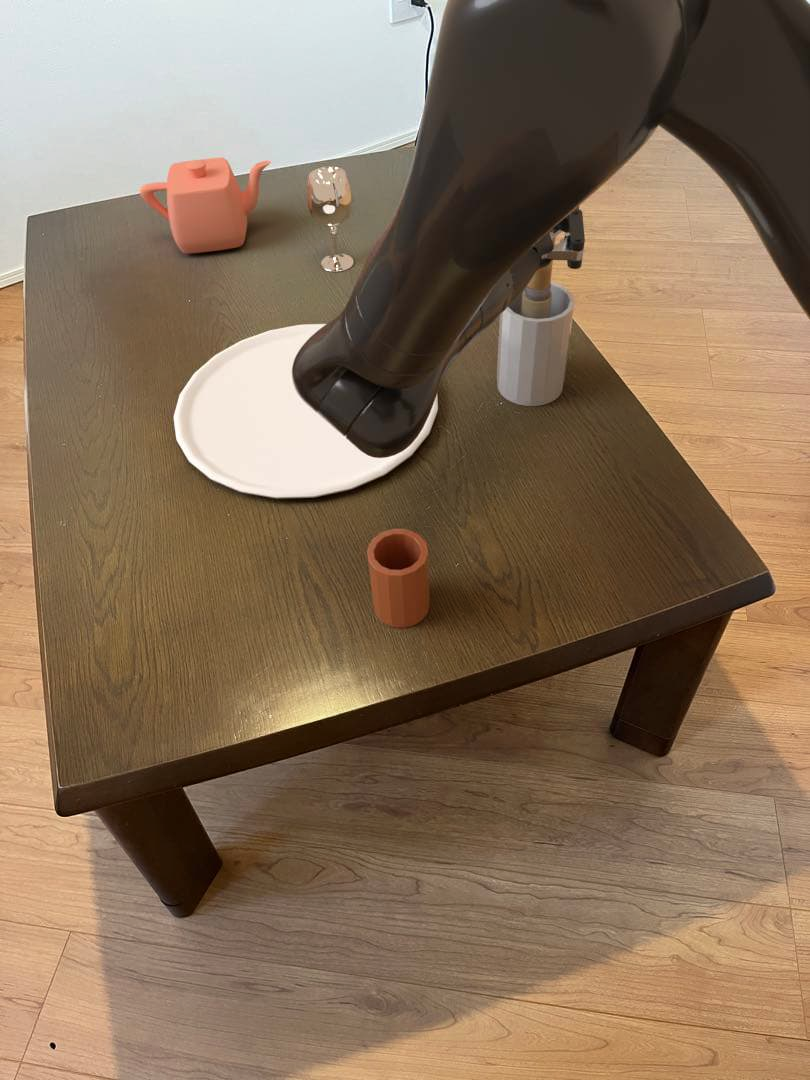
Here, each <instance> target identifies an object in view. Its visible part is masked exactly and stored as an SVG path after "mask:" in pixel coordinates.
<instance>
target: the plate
mask: <svg viewBox="0 0 810 1080" xmlns="http://www.w3.org/2000/svg"><path fill="white" fill-rule="evenodd" d="M326 324H327V323H311V324H310V323H308V324H296V325H292V326H291V325H290V326H285V327H281V328H275V329H269V330H267V331H264V332H261V333H259V334H255V335H253V336H250V337H247V338H245V339H241V340H240V341H238V342H236V343H234V344H232V345H230V346H229V347H227V348H225V349H224V350H222V351H220V352H218V353H216V354H215V355H213V356H212V357H211V358H210V359H209V360H207V361H206V363H204V364H203V365H202V366H201V367H200V368H199V369H197V370H196V371H195V372H194V373H193V374H192V376H191V378H190V379H189V380H188V382H187V383H186V384H185V386H184V388H183V389H182V391H180V392H179V395H178V399H177V402H176V406H175V410H174V413H173V422H174V423H173V425H174V431H175V432H174V433H175V439H176V442H177V443H178V446H179V447H180V449H181V451H182V452H183V454H184V456H185V457H186V459H187V461H188V462H189V463H190V464H191V465H193V466H194V467H195V468H196V469H197V470H198V471H200V473H202V474H203V475H204V476H206V477H207V478H208V479H209V480H211V481H213V482H216V483H217V484H219V485H222V486H225V487H227V488H229V489H232V490H234V491H236V492H238V493H243V494H248V495H254V496H258V497H259V496H260V497H266V498H271V499H305V498H309V499H311V498H312V499H313V498H318V497H322V496H329V495H332V494H337V493H341V492H347V491H349V490H350V491H351V490H354V489H356V488H359V487H361V486H363V485H365V484H367V483H369V482H372V481H375V480H377V479H378V478H379V479H380V478H381V477H383V476H385V475H387V474H388V473H390V472H391V471H393V470H394V469H396V468H397V467H398V466H399V465H401V464H402V463H404V462H405V461H407V460H408V459H409V458H410V457H412V456H413V455H414V454H415V452H416V451H417V450H418V448H419V447H420V446H421V445H422V443H423V442H424V441H425V440H426V438H427V437H428V436H429V435H430V433H431V431H432V428H433V425H434V422H435V420H436V417H437V414H438V411H439V402H438V394H437V395H436V398H435V401H434V404H433V406H432V409H431V412H430V414H429V416H428V419H427V421H426V423H425V425H424V427H423V429H422V430H421V432H420V434H419V435H418V437H417V438H416V439H415V440H414V442H413V443H412V444H411V445H410V446H409V447H408V448H406V449H405V450H404V451H402V452H400V453H398V454H396V455H394V456H390V457H386V458H374V457H371V456H368V455H366V454H365V453H363V452H361V451H360V450H359V449H358V448H356V447H355V446H354V445H353V444H352V443H351V442H350V441H348V440H347V439H346V436H343V435H342V434H341V433H339V432H338V431H337V430H336V429H335V428H334V427H332V426H331V425H330V424H329V423H328V422H327V421H325V420H324V419H323V418H322V417H321V416H320V415H318V413H316V412H315V411H314V410H313V409H312V408H310V407H309V406H308V405H307V404H306V403H305V402H304V401H303V400H302V399H301V398H300V397H299V395H298V394H297V392H296V390H295V387H294V384H293V380H292V366H293V362H294V359H295V357H296V355H297V353H298V352H299V350H300V349H301V347H302V346H303V345H304V343H305V342H306V341H307V340H308V339H309V338H310V337H311V336H312V335H313V334H315V333H316V332H317V331H318V330H319V329H321V328H322V327H323V326H325V325H326Z"/></svg>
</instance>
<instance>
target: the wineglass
mask: <svg viewBox="0 0 810 1080" xmlns="http://www.w3.org/2000/svg"><path fill="white" fill-rule="evenodd" d="M306 200H307V209H308V211H309V214H310V216H311V218H312V219H313V220H314V222H316V223H317V224H319V225H321V226H323V227H329V233H330V234H329V235H330V236H331V239H332V243H333V253H332V254H328V255H327V256H324V257H323V258H322V259H321V261H320V267H321V268H322V269H323V270H324V271H326V272H330V273H340V272H345V271H347V270H349V269H350V268H352V267H353V266H354V264H355V261H354V258H353V257H352V256H351V255H350V254H347V253H341V252H340V253H339V250H338V232H339V231H338V227H337V226H341V225H343V224H344V223H346V222H348V220H349V219H350V218H351V216H352V213H353V210H354V196H353V192H352V187H351V184H350V180H349V178H348V175H347V172H346V170H344V169H343V168H341V167H338V166H329V165H328V166H321V167H318V168H316V169H314V170H312V171H311V172H310V173H309V174H308V179H307V188H306Z"/></svg>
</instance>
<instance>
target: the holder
mask: <svg viewBox="0 0 810 1080" xmlns="http://www.w3.org/2000/svg"><path fill="white" fill-rule="evenodd" d="M366 556H367V557H366V558H367V565H368V573H369V580H370V590H371V598H372V605H373V611H374V614H375V615H376V617H377V619H378V620H379V621H380V622H381V623H383V624H384V625H386V626H389V627H391V628H398V629H404V628H405V629H406V628H410V627H413V626H416V625H417V624H419V623H420V622H422V620H424V618H425V617H426V616H427V615H428V613H429V610H430V603H431V593H430V591H431V590H430V588H431V587H430V561H429V548H428V544H427V542H426V540H425V539H424V538H423V537H422V536H421V535H420V534H419V533H417V532H415V531H412V530H411V529H410V530H409V529H407V528H391V529H388V530H384V531H381V532H380V533H379V534H377V535H376V536H375V537H374V538H372V539H371V540H370V542H369V545H368V547H367V549H366Z"/></svg>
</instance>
